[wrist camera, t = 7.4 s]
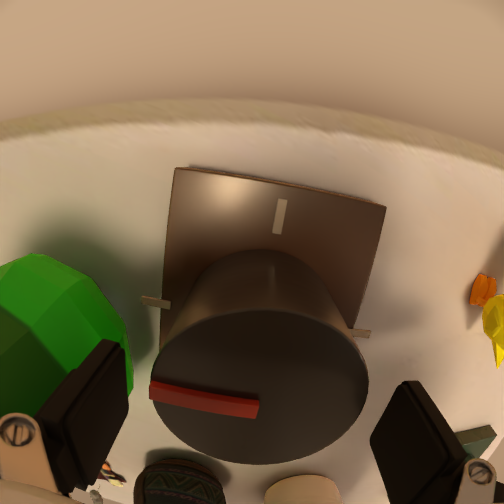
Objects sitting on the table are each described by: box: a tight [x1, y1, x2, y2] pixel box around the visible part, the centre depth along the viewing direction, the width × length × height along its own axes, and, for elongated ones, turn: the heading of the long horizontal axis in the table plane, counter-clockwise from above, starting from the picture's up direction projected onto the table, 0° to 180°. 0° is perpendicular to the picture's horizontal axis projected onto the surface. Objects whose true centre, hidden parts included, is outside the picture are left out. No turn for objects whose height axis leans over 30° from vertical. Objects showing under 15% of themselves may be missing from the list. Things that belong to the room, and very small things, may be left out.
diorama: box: [90, 463, 125, 504], centre depth 19 cm, size 9×27×4 cm, turn 105°
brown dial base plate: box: [141, 167, 386, 352], centre depth 14 cm, size 12×11×2 cm
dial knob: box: [149, 249, 369, 465], centre depth 11 cm, size 7×7×6 cm
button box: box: [387, 425, 497, 504], centre depth 19 cm, size 10×8×4 cm
